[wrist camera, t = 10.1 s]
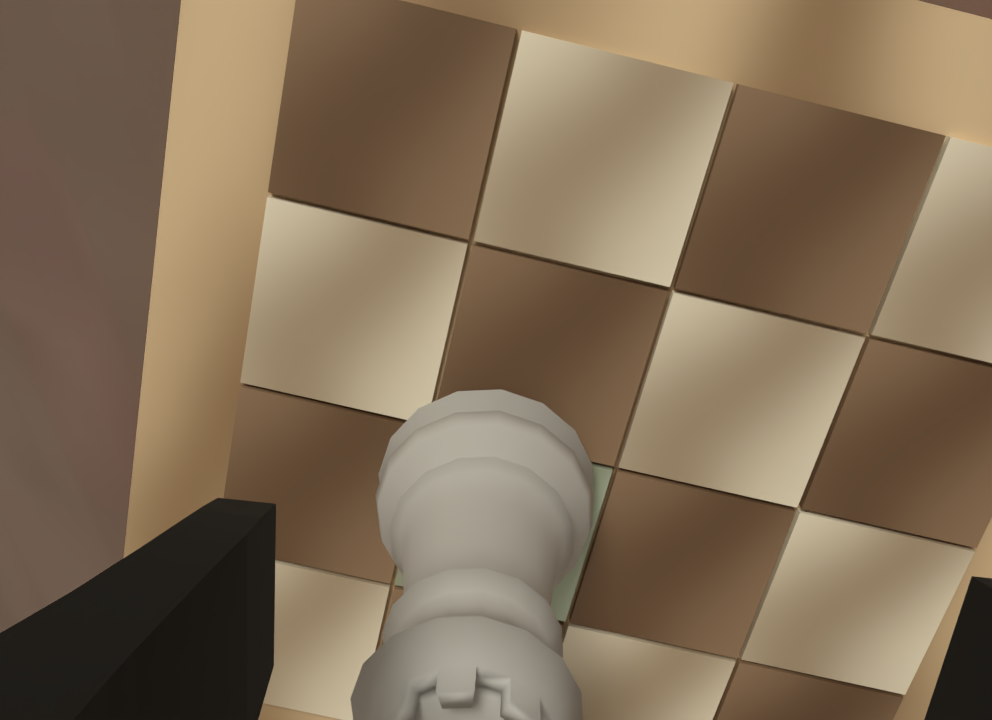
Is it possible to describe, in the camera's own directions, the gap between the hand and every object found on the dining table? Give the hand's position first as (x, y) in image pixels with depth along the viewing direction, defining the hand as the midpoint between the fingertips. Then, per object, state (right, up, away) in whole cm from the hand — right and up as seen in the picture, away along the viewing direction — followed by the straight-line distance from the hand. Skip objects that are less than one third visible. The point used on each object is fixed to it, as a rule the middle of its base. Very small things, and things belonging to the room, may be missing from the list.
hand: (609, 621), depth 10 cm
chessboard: (+1, +1, +11) cm, 11 cm away
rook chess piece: (-1, 0, +10) cm, 10 cm away
